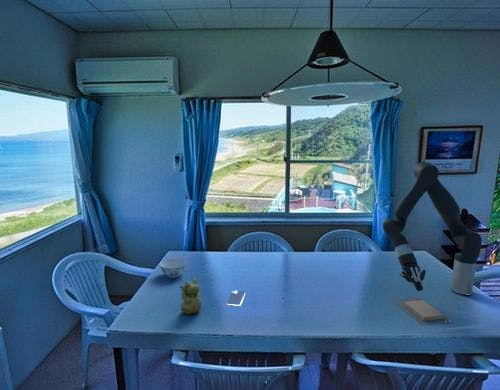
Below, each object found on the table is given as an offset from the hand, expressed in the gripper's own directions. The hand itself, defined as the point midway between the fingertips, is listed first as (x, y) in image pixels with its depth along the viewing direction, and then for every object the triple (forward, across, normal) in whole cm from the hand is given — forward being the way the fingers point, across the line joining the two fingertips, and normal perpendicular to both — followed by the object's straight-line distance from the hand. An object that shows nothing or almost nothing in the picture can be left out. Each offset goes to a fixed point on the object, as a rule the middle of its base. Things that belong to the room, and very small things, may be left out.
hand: (420, 290), depth 142 cm
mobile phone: (-10, -82, +25) cm, 87 cm away
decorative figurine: (-4, -104, +18) cm, 105 cm away
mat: (+8, 0, +6) cm, 10 cm away
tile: (+3, 0, +8) cm, 9 cm away
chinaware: (-33, -115, +48) cm, 129 cm away
